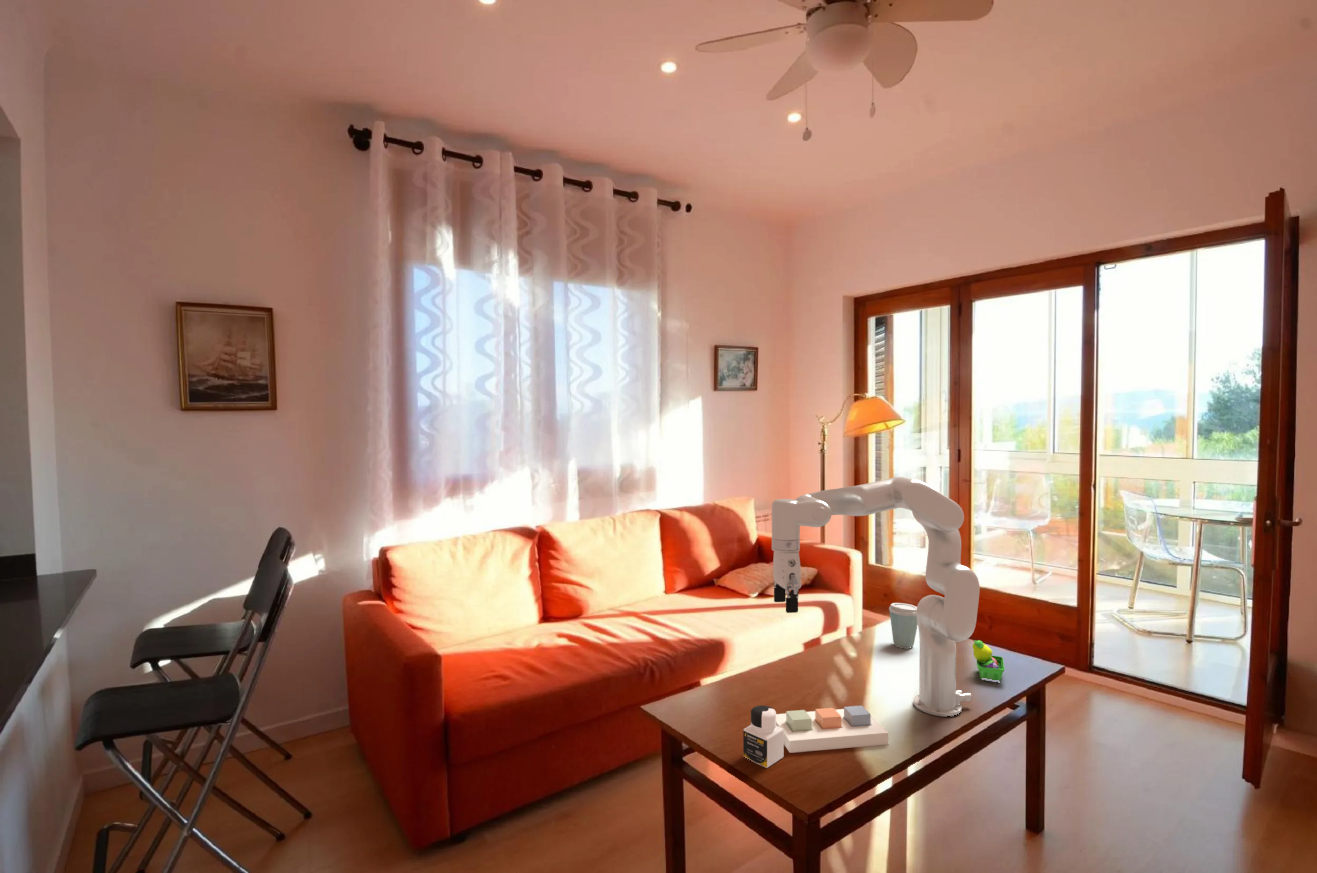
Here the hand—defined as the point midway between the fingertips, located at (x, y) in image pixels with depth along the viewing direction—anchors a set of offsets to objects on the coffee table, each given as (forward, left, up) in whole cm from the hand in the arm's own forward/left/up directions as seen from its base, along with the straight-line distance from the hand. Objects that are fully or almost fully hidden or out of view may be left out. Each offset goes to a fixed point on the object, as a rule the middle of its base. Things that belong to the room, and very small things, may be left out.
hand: (785, 606), depth 172 cm
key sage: (0, +10, -29) cm, 31 cm away
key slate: (-16, +10, -29) cm, 35 cm away
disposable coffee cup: (-61, -46, -31) cm, 83 cm away
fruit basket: (-73, -17, -31) cm, 81 cm away
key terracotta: (-8, +10, -29) cm, 32 cm away
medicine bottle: (+12, +18, -31) cm, 38 cm away
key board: (-8, +10, -31) cm, 34 cm away
